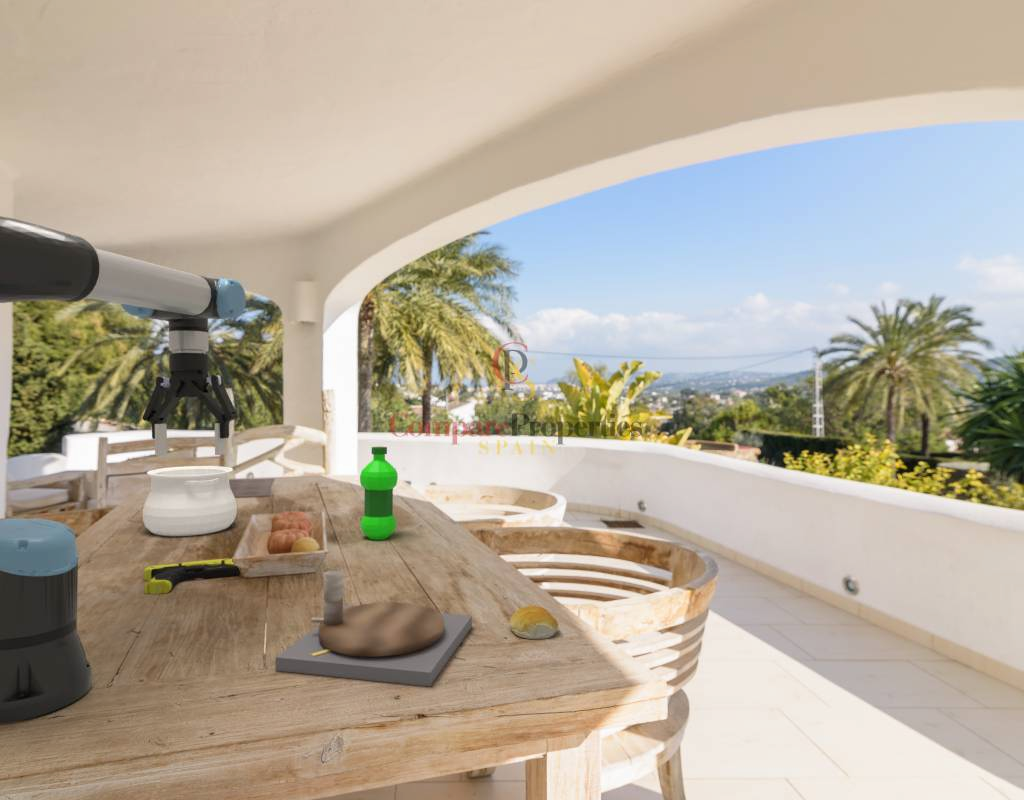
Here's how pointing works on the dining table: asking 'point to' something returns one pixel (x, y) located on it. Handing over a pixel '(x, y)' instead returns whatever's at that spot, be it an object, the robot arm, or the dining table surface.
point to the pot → (189, 501)
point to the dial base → (377, 658)
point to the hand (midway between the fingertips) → (190, 454)
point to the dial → (374, 624)
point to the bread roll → (533, 623)
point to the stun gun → (186, 573)
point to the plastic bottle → (378, 496)
